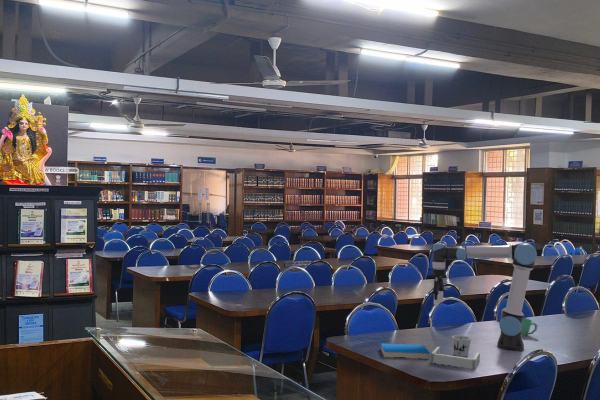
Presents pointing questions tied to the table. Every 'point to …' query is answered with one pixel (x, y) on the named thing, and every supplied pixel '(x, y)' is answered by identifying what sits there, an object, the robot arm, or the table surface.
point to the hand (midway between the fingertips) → (438, 303)
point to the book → (405, 351)
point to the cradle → (454, 360)
